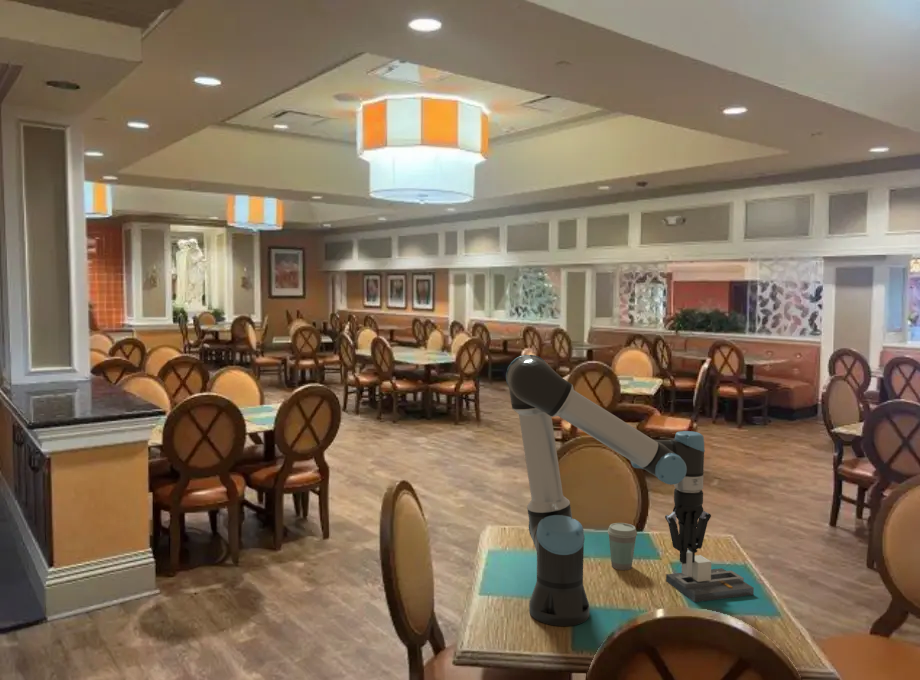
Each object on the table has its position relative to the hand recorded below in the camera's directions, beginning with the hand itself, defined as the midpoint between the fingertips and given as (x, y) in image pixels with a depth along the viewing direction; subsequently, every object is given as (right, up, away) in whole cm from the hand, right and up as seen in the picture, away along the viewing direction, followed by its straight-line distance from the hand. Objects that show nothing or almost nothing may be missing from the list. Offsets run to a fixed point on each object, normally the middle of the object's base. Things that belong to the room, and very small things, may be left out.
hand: (686, 574), depth 197 cm
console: (+7, -5, +2) cm, 8 cm away
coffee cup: (-14, -4, +17) cm, 23 cm away
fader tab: (+4, -3, +1) cm, 5 cm away
